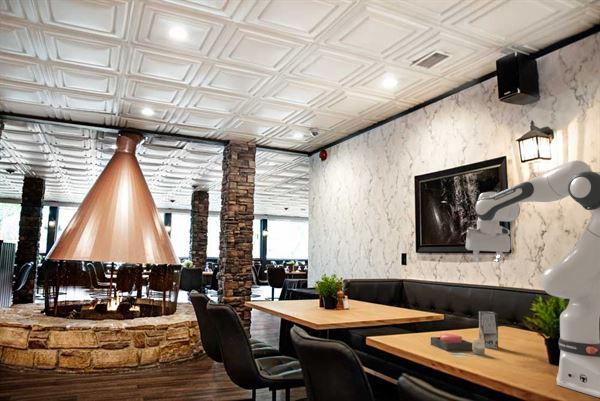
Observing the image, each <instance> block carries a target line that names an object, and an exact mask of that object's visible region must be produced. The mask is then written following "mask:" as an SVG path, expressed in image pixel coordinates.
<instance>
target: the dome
mask: <svg viewBox="0 0 600 401" xmlns="http://www.w3.org/2000/svg"><path fill="white" fill-rule="evenodd" d="M439 337H440V340H441V341H444V342H447V343H462V340H463V337H462V336H461V335H457V334H453V333H452V334H451V333H441V334H440V335H439Z"/></svg>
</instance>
